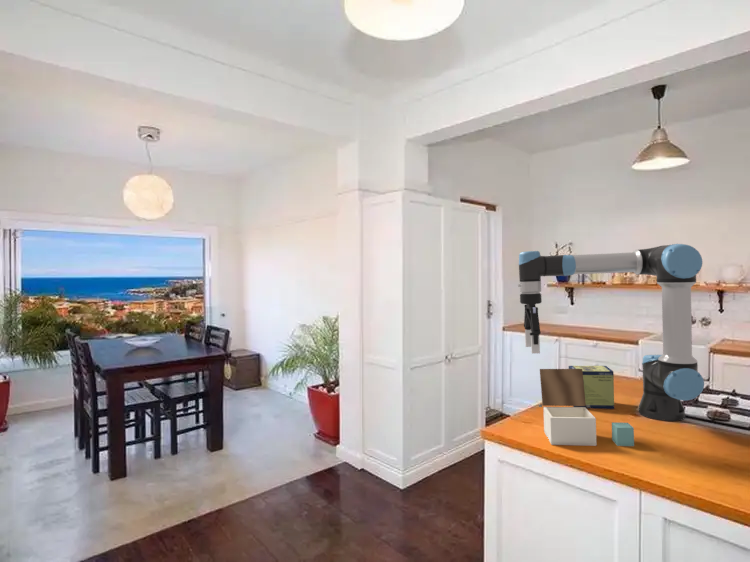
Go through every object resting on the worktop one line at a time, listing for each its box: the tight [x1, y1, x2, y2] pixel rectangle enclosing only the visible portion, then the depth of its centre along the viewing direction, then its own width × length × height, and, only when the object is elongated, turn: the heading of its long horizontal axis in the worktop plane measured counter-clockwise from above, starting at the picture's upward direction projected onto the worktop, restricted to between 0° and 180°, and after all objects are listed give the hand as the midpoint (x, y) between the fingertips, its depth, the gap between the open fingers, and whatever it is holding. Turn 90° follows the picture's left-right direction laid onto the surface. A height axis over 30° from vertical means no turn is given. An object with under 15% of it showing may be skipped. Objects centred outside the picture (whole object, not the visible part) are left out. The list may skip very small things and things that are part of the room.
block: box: [611, 421, 635, 447], centre depth 150 cm, size 5×5×6 cm
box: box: [538, 403, 597, 447], centre depth 156 cm, size 17×12×10 cm
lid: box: [539, 368, 586, 407], centre depth 163 cm, size 14×13×1 cm
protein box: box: [568, 365, 615, 410], centre depth 191 cm, size 10×16×16 cm
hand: (532, 349), depth 170 cm, fingers open, 13 cm apart
